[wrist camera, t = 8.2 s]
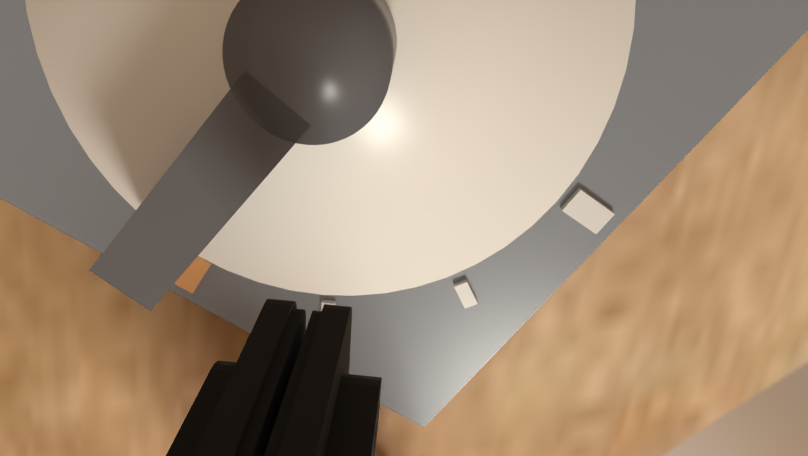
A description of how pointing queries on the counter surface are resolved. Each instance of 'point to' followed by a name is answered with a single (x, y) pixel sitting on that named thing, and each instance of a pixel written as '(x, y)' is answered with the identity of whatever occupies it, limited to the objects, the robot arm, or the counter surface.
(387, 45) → the dial
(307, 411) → the robot arm
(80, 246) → the counter surface
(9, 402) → the counter surface
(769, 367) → the counter surface
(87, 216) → the dial plate
